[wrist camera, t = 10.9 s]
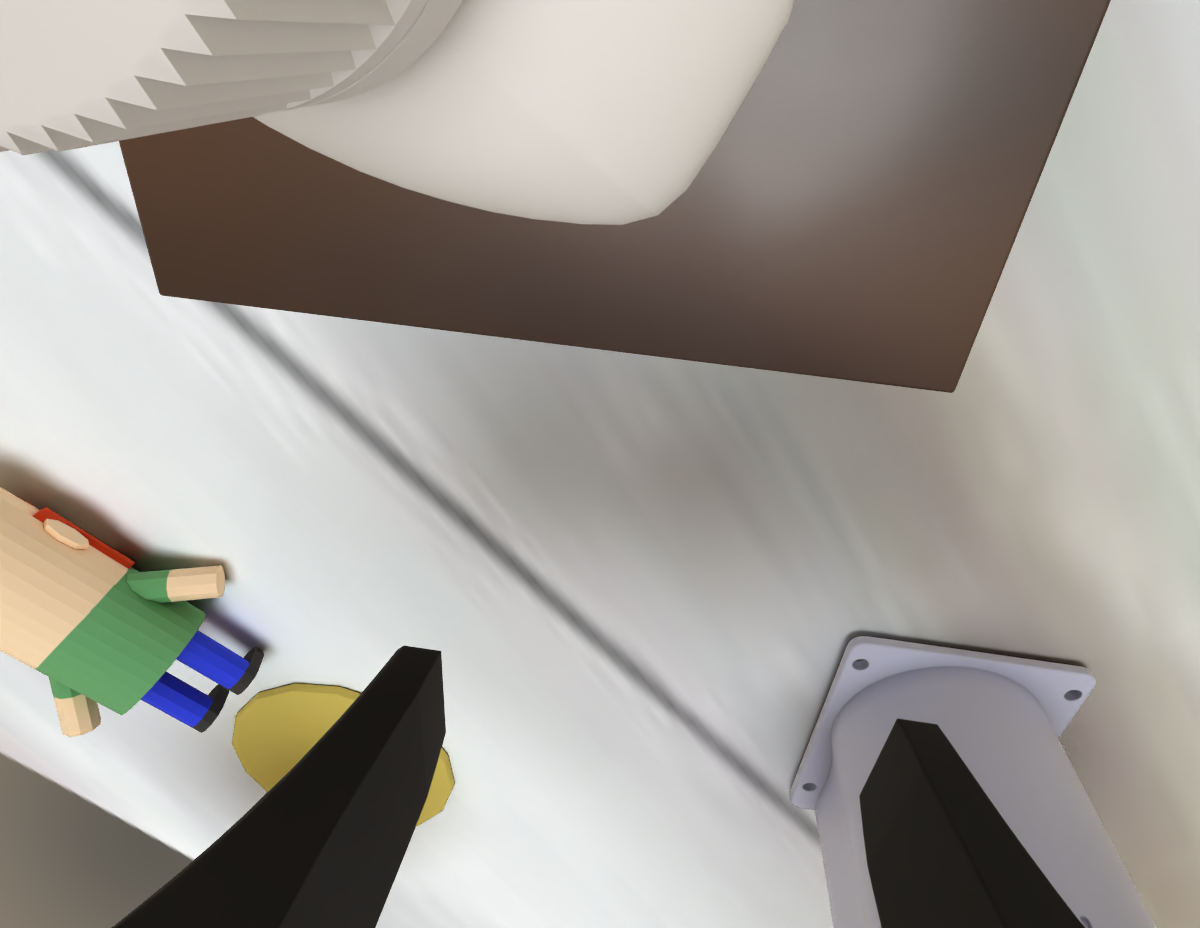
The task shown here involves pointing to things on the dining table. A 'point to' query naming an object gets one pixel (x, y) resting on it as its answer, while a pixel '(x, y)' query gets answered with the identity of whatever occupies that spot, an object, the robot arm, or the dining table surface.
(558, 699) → the dining table surface
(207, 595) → the toy figurine
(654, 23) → the eye dropper bottle
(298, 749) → the candle
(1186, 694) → the dining table surface
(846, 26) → the shelf
